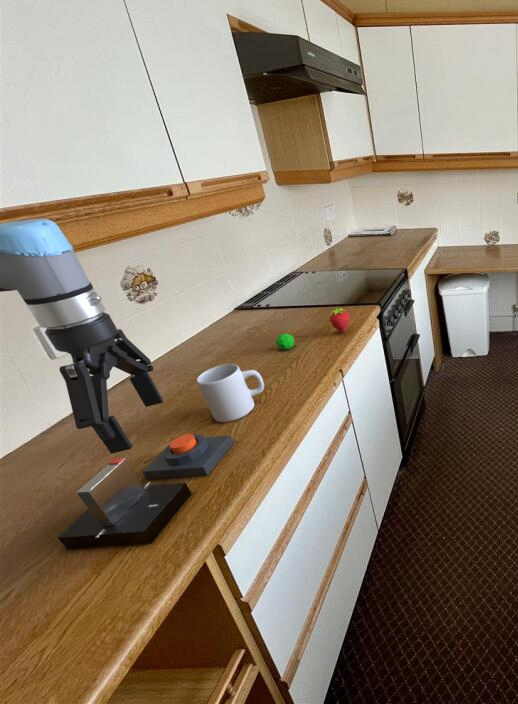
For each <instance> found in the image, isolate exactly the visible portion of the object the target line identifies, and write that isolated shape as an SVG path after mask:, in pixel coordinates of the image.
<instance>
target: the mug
mask: <svg viewBox="0 0 518 704" xmlns="http://www.w3.org/2000/svg"><path fill="white" fill-rule="evenodd" d="M250 377H255V378H256V380H257V382H258V386H257V387H256V388H253V389H251V388H250V389H249V387H248V385H247V383H246V380H245V379H247V378H250ZM196 384H197V385H198V387H199V390H200V392H201V394H202V396H203V398H204V400H205V402H206V405H207V406H208V408H209V410H210V413H211V416H212V417H213V419H214V420H215V421H216V422H218V423H230V422H234V421H236V420H239V419H241V418H244V417H245V416H247V415H248V414H249V413H251V412H252V410H253V409H254V407H255V401H254V399H253V397H255V396H257V395H259V394H261V393H262V392H263V391H264V388H265V383H264V379H263V377H262V375H261V374H260V373H259V372H258V371H257V370H254V369H249V370H248V369H247V370H242V371H241V369H240V367H239V365H237V364H235V363H225V364H220V365H217V366H214V367H211V368H209V369H207V370H205V371H204V372H202V373H201V374H200V375H198V376H197V378H196Z"/></svg>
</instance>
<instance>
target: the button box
mask: <svg viewBox="0 0 518 704" xmlns="http://www.w3.org/2000/svg"><path fill="white" fill-rule="evenodd" d="M192 435H193V436H194V438H195V439H196V441H197V444H196V445H195V446H194V447H193V448H192V449H190V450H189V451H187V452H184V453H181V454H174V453H173V451H172V450H171V448H170V444H169V445H167V446H166V447H165V448H164V450H162V452H160V453H159V454H158V456H156V457H155V458H154V459H153V460H152V461H151V462H150V463H149V464H148V465H147V466H146V467H145V468H144V469H143V470H142V474H143V476H144V477H145V479H146V480H147V481H148V480H161V479H175V478H185V477H187V478H188V477H200V476H208V475H209V474H210V473H211V471H213V469H214V468H215V467H216V465H217V464H218V463H219V462H220V460H221V459H222V458H223V456H225V455H226V454H227V452H228V451H229V450H230V448H231V447H232V446H233V445H234V441H233V438H232V436H231V435H219V436H218V435H217V436H204V435H203V434H201V433H197V434H195V433H193V434H192Z"/></svg>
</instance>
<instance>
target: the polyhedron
mask: <svg viewBox="0 0 518 704" xmlns="http://www.w3.org/2000/svg"><path fill="white" fill-rule="evenodd" d="M295 342H296V341H295V338H294V336H292V334H289V333H281V334H280V335H278V337H276V340H275V345H276V347H277V348H278V349H280V350H281V351H283V350H287V351H288V350H290V349H292V347H293V346H294V344H295Z"/></svg>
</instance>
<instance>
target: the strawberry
mask: <svg viewBox="0 0 518 704" xmlns="http://www.w3.org/2000/svg"><path fill="white" fill-rule="evenodd" d="M343 308H344V307H341V308H338V307H336V309H332V310H331V311H329V313H331V314H330V316H329V321H330V323H331V325H332V326H333V328H335V329H336V330H337V331H339V332H340V333H341V334H344V333H346V331H347V328H348V326H349V324H350V313H349V312H348V311H347V309H343Z"/></svg>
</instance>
